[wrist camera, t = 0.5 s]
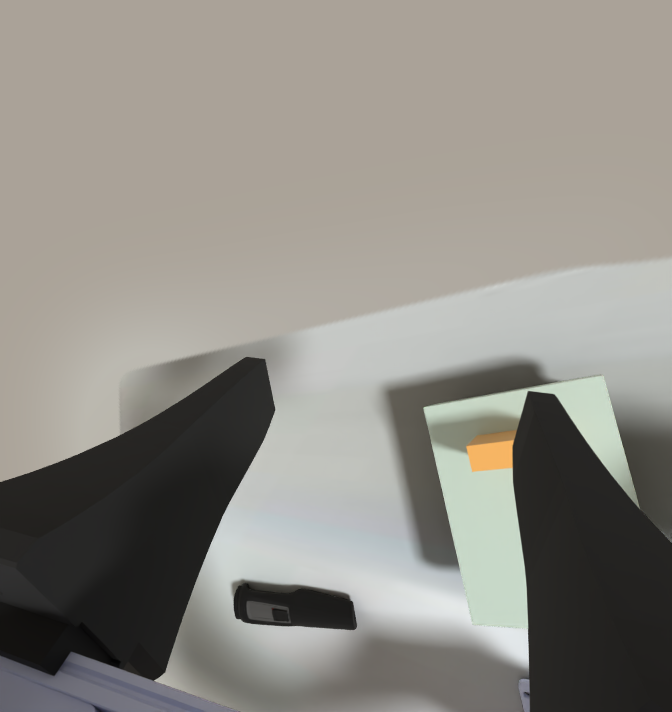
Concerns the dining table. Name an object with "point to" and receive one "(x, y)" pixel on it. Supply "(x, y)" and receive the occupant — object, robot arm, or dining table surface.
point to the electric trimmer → (294, 609)
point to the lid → (506, 485)
